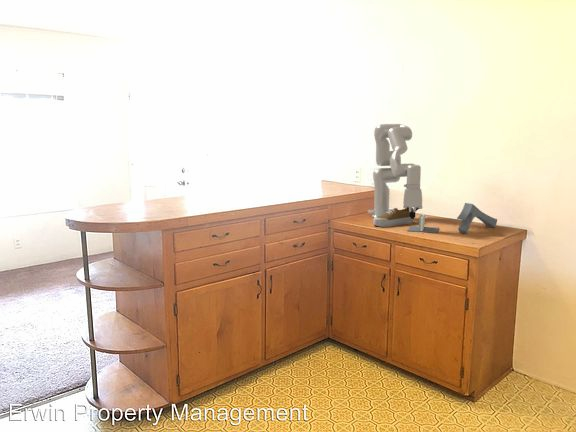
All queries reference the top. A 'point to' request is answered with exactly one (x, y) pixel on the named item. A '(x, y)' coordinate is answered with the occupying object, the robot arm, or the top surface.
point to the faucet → (470, 213)
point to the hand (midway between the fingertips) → (412, 218)
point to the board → (421, 222)
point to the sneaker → (393, 218)
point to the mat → (426, 229)
